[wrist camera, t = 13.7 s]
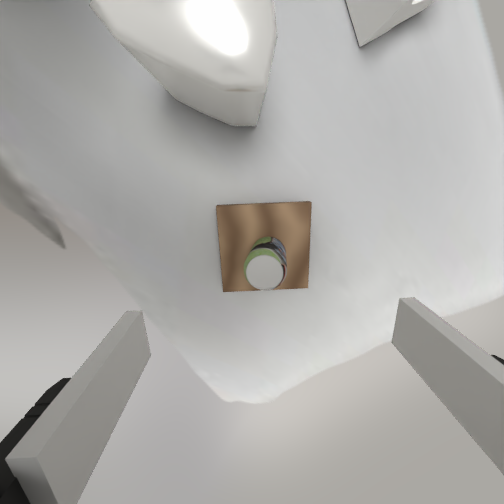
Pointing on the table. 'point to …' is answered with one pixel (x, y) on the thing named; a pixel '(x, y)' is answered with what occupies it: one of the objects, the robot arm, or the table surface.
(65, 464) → the robot arm
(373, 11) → the white pipe support bracket
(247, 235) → the wooden serving board
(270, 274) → the beverage can
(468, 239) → the table surface
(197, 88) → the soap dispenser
